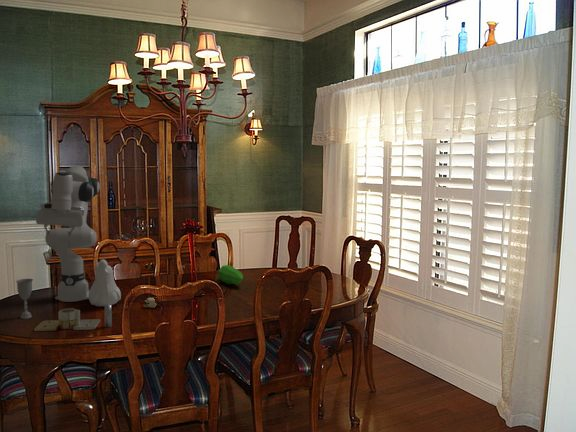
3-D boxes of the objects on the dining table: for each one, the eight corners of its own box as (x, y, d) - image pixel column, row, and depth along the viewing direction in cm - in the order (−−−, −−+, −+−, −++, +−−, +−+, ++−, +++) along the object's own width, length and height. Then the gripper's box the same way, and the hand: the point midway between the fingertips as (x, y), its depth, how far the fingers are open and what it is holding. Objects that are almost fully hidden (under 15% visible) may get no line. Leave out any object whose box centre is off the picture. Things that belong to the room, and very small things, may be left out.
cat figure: (186, 302, 273) (140, 304, 260) (187, 286, 272) (142, 288, 259) (192, 307, 264) (145, 309, 251) (194, 291, 263) (147, 292, 251)
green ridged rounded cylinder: (225, 260, 321) (246, 267, 295) (231, 275, 324) (253, 283, 299) (210, 268, 316) (231, 276, 290) (217, 283, 319) (238, 293, 293)
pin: (105, 325, 229) (105, 304, 228) (112, 325, 229) (112, 304, 228) (104, 327, 226) (103, 306, 225) (111, 327, 226) (110, 306, 225)
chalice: (30, 313, 244) (29, 277, 242) (37, 316, 239) (35, 280, 237) (15, 317, 238) (13, 280, 236) (21, 320, 234) (19, 283, 232)
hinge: (43, 323, 230) (42, 307, 229) (100, 321, 234) (99, 306, 233) (34, 331, 219) (33, 315, 219) (94, 329, 223) (93, 313, 222)
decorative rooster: (121, 308, 254) (120, 261, 252) (88, 311, 249) (86, 262, 246) (120, 295, 278) (119, 252, 275) (90, 298, 273) (89, 253, 270)
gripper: (83, 207, 244) (81, 235, 243) (37, 204, 233) (34, 233, 233) (85, 207, 238) (83, 236, 238) (38, 204, 228) (35, 234, 228)
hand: (58, 235), depth 235 cm, fingers open, 8 cm apart
